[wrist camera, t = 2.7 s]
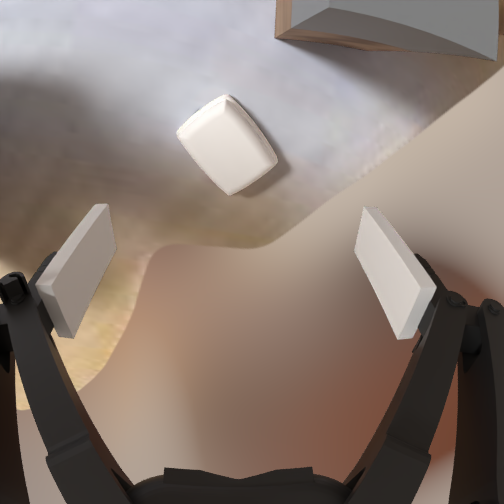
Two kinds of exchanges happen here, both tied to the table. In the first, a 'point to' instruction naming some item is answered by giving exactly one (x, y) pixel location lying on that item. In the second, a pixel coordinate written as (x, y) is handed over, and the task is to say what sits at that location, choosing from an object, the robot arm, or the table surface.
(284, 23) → the walnut base cube
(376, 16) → the grey cube
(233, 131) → the soap
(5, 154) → the table surface
